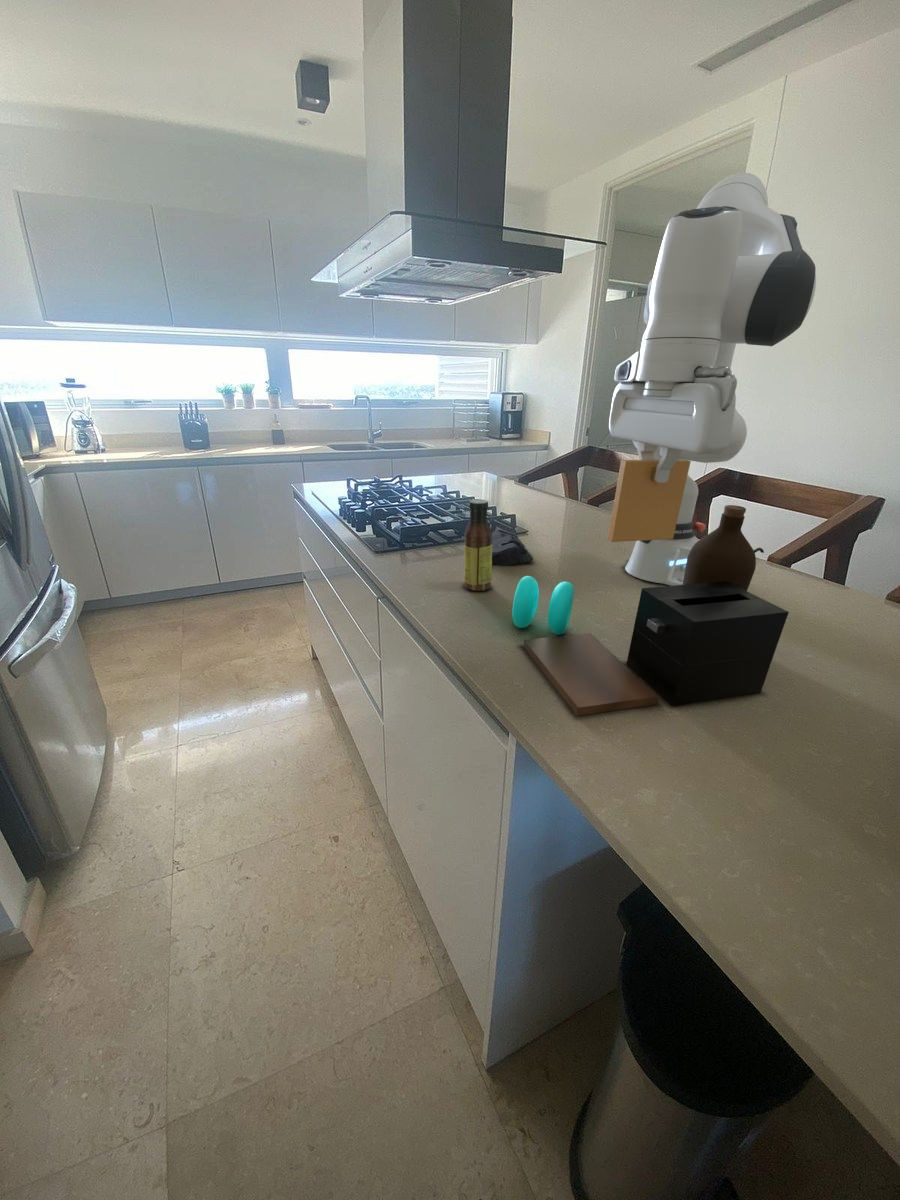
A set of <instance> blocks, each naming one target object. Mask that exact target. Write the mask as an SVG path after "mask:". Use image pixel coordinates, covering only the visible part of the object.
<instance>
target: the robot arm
mask: <svg viewBox="0 0 900 1200" xmlns="http://www.w3.org/2000/svg"><path fill="white" fill-rule="evenodd" d="M816 287H817V275H816V265H815V262H814V261H813V259H812V257H811V256H810V255H809V254H808V253H807V252H806V251H805V250H804V249H803V246H802V244H801V240H800V238H799V232H798V222H797V220H796V217H794V216H792V215H788V214H783V213H779V212H777V211H775V209H772V208H771V207H769V197H768V192H767V188H766V187H765V185H764V183H763V182H762V180H761V178H759V177H758V176H757V175H755V174H753V173H751V172H737V173H736V172H735V173H733V174H731V175H728V176H726V177H725V178H723V179H721V180H720V181H719V182H717V183H716V184H715V185H713V187H711V189H709V191H708V192H707V193H706V194H705V195H704V196H703V198H702V199H701V200H700V202H699V203H698V205H697V206H696V208H692V209H687V210H683V211H680V212H678V213H676V214H675V215H674V216H672V217H671V218H670V219H669V221H668V224H667V226H666V228H665V232H664V234H663V238H662V241H661V245H660V248H659V252H658V256H657V260H656V264H655V268H654V272H653V277H652V278H651V279H650V280H649V282H648V287H647V292H646V298H645V304H644V309H643V323H644V324H645V326H646V329H645V330H644V333H643V335H642V339H641V346H640V350H638V351H636V352H635V353H634V354H632V355H631V356H629V358H627V359H626V360H624V361H622V362H621V363H619V364H617V366H616V368H615V371H614V372H615V373H614V381H615V382H616V383H618V384H617V385H616V387H615V388H614V391H613V394H612V399H611V406H610V412H609V421H608V430H609V434H610V437H612V438H616V439H622V440H627V441H632V444H633V445H634V447H635V448H636V449H637V455H638V460H660V461H659V463H658V465H657V467H653V468H652V472H651V474H652V475H651V477H650V479H651V480H652V481H654V482H658V483H666V482H667V481H668V479H669V474H670V469H672V467H673V466H674V465H675V463H676V462H677V460H689V461H691V462H695V463H704V464H709V463H711V464H712V463H724V462H728V461H730V460H732V459H734V458H735V457H736V456H737V455H738V454H739V453H740V452H741V450H742V449H743V447H744V445H745V443H746V440H747V435H748V427H747V424H746V421H745V419H744V417H743V415H741V414H740V413H739V411H738V410H737V408H736V404H737V403H736V402H737V396H736V395H737V394H736V390H737V386H738V379H737V377H736V376H735V373H734V372H733V371H732V370H731V368H732V363H733V358H734V353H735V350H736V345H737V344H741V345H743V344H746V345H748V346H749V345H750V346H760V347H761V346H763V347H773V346H775V345H777V344H779V343H780V342H782V341H784V340H785V339H787V338H788V337H789V336H791V335H792V334H794V333H795V332H796V331H797V330H799V329H800V328H801V326H802V325H803V322H804V321H805V319H806V317H807V316H808V314H809V311H810V309H811V306H812V304H813V300H814V297H815V294H816V293H815V292H816ZM698 496H699V487H698V484H697V483H696V481H695V480H694V479H693V478H692V477H691V476H690V475H689V474H688V475H687V480H686V484H685V488H684V493H683V497H682V502H681V506H680V510H679V515H678V519H677V524H676V528H675V532H674V537H673V539H662V540H642V541H635V544H634V546H633V550H632V552H631V555H630V557H629V559H628V562H627V564H626V565H625V567H624V570H625V572H627V573H628V574H629V575H631V576H632V577H634V578H638V579H640V580H642V581H647V582H652V583H658V584H663V585H666V586H674V585H683V579H684V573H685V568H686V562H687V557H688V554H689V552H690V550H691V549H692V547H693V546H694V544H695V543H696V542H698V541H699V540H700V539H698V537H697V536H696V531H698V532H699V533H704V531H705V530H706V528H707V525H706V524H705V523H703V522H700V521H697V522H695V521H694V520H693V518H694V513H695V509H696V504H697V500H698ZM753 550H754V552H755V554H756V553H757V552H760V553H761V554H763V553H765V550H764V549H763V548H762V547H756V548H755V549H753Z"/></svg>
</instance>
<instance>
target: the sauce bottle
mask: <svg viewBox="0 0 900 1200" xmlns="http://www.w3.org/2000/svg"><path fill="white" fill-rule="evenodd" d="M468 507H469V522H468V524H467V525H466V527H465V529H464V543H463V547H464V548H463V566H464V567H463V577H464V578H463V581H464V586H465V588H466V589H467V590H469V591H475V592H484V591H488V590H490V588H491V586H492V578H493V577H492V576H493V575H492V573H493V569H492V568H493V565H492V531H493V530H492V528H491V526H490V524H489V522H488V510H489V509H488V508H489V501H488V499H487V500H486V499H481V498H476V499H471V500H469V501H468Z"/></svg>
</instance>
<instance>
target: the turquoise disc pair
mask: <svg viewBox="0 0 900 1200" xmlns="http://www.w3.org/2000/svg"><path fill="white" fill-rule="evenodd" d="M539 595H540V590H539V585H538V581H537V580H536V578H534V577H533V576H532V575H525V576H523V577H521V578H520V579H519V581H518V583H517V586H516V589H515V591H514V597H513V602H512V611H511V613H512V615H511V616H512V621H513V624H514V625H515V626H516V627H517V628H520V629H524V628H527V627H528V626H529V625H531V623H532V622H533V620H534V618H535V615H536V613H537V609H538V604H539V598H540V597H539ZM574 595H575V588H574V586H573V584H572V583H571V582H569V581H561V582H559V583H558V584H557V585H556V586H555V588H554V589H553V590H552V593H551V597H550V601H549V606H548V613H547V625H548V628H549V630H550V631H551V632H552V633H553V634H554V635H558V636H562V635H564V634H565V633H566V632H567V629H569V624H570V620H571V615H572V609H573V603H574Z"/></svg>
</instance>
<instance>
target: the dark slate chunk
mask: <svg viewBox="0 0 900 1200" xmlns="http://www.w3.org/2000/svg"><path fill="white" fill-rule="evenodd" d="M533 561H534V557H533V555H532V554H531V553H530V552H529V551H528V549H526V546H525V545H524V543H523V542H522V540H521V539H520V538H519V536H518V535H517V534H516V533H515V532H513V531H506V530H503V529H497V530H492V566H493V565H499V566H502V565H503V566H516V565H523V564H525V563H532V562H533Z"/></svg>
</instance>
